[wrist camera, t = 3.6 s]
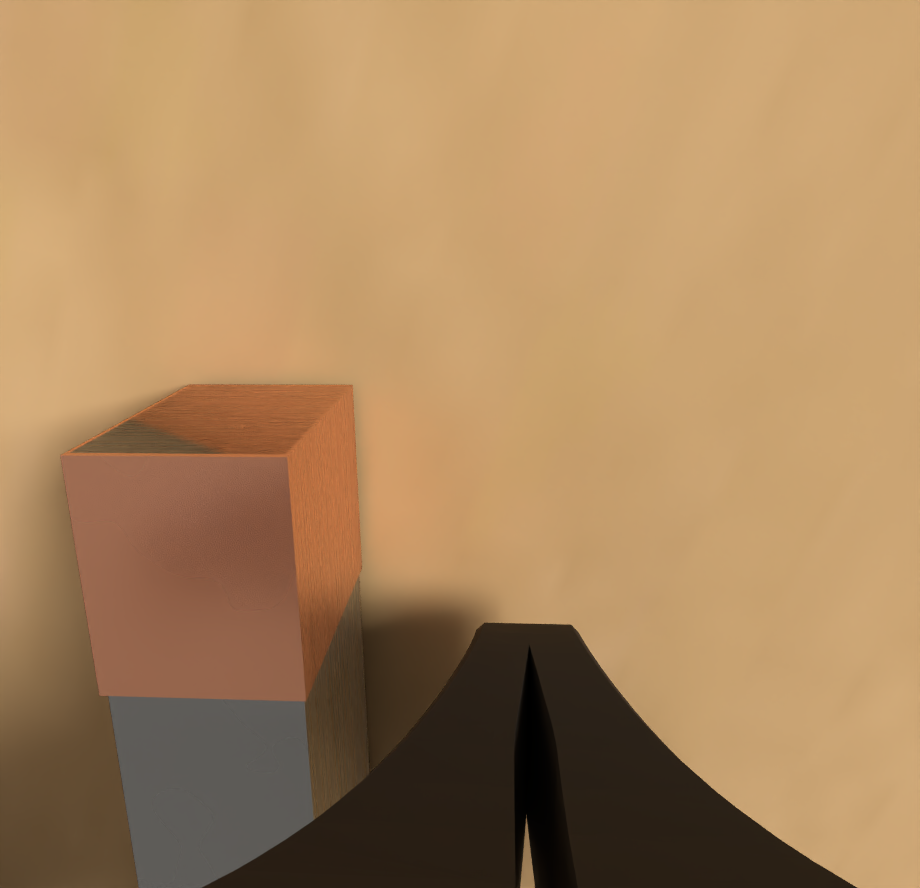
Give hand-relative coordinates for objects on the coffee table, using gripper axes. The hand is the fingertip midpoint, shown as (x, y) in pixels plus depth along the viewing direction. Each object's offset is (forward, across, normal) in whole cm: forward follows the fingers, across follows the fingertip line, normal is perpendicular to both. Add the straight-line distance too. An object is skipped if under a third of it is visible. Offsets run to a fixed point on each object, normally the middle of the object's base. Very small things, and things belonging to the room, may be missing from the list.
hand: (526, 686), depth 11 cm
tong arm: (+2, +5, +7) cm, 8 cm away
